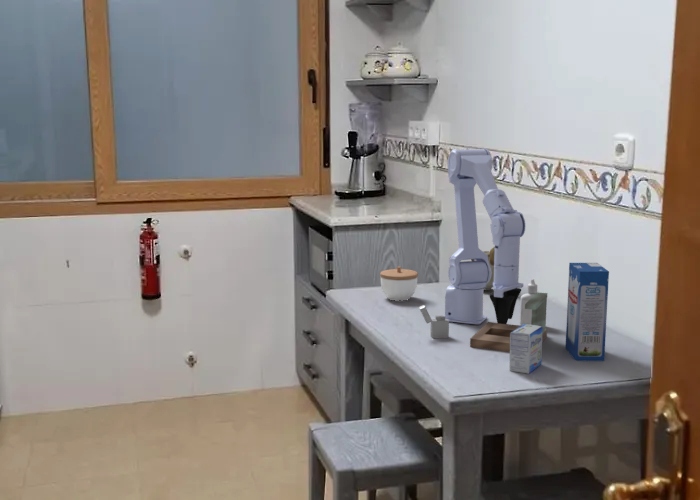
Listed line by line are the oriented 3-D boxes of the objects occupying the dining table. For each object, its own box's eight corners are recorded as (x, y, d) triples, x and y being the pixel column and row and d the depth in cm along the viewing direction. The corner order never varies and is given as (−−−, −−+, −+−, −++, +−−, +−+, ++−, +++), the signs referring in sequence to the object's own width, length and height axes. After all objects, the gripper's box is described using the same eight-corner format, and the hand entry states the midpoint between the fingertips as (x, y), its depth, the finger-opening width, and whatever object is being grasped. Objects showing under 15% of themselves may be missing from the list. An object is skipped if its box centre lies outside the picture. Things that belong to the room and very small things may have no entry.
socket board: (470, 347, 192) (471, 300, 190) (487, 329, 207) (489, 286, 205) (532, 354, 186) (534, 306, 184) (546, 336, 201) (548, 292, 199)
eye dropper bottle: (538, 329, 207) (540, 282, 205) (517, 326, 210) (518, 279, 208) (544, 325, 211) (546, 279, 209) (523, 322, 214) (525, 276, 212)
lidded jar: (420, 295, 243) (420, 264, 241) (414, 304, 233) (414, 271, 231) (383, 293, 246) (384, 262, 244) (376, 302, 235) (376, 269, 234)
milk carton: (565, 347, 192) (569, 262, 188) (592, 347, 191) (597, 262, 188) (575, 360, 182) (579, 271, 178) (604, 361, 182) (609, 271, 178)
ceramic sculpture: (508, 290, 250) (510, 240, 247) (494, 295, 243) (496, 244, 241) (477, 285, 257) (478, 237, 254) (463, 290, 250) (464, 241, 247)
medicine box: (528, 375, 173) (530, 334, 171) (508, 371, 175) (509, 331, 173) (541, 364, 179) (543, 326, 178) (522, 361, 182) (523, 323, 180)
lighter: (447, 335, 201) (447, 303, 200) (448, 337, 200) (449, 305, 198) (418, 337, 200) (418, 304, 199) (419, 339, 199) (420, 306, 197)
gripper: (516, 271, 186) (514, 330, 188) (530, 260, 199) (528, 315, 201) (485, 269, 188) (483, 327, 191) (501, 258, 201) (499, 312, 204)
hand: (504, 320), depth 196 cm, fingers open, 4 cm apart
